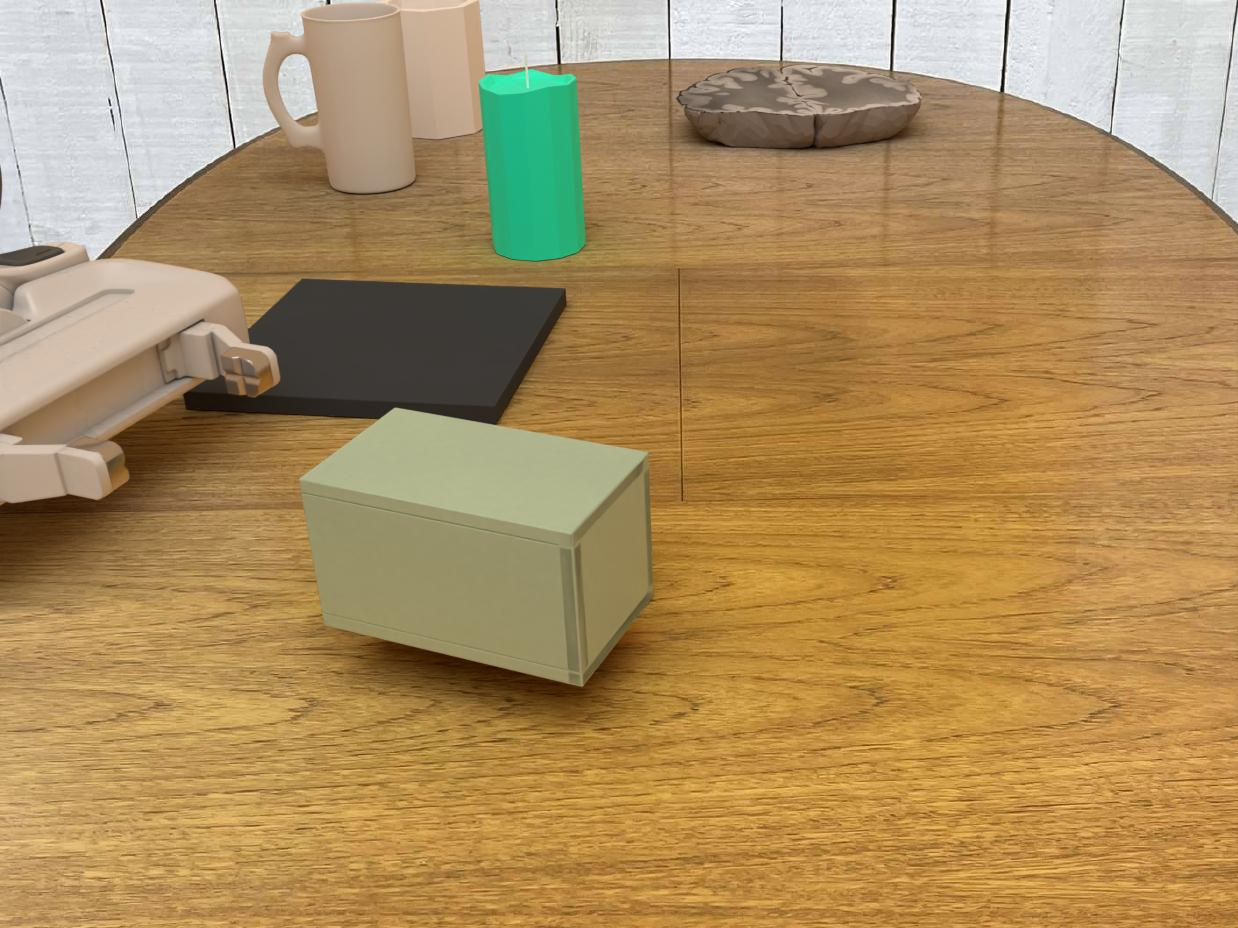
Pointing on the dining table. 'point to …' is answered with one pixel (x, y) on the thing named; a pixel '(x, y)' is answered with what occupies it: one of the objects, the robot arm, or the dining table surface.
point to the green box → (482, 542)
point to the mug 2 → (442, 65)
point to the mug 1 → (351, 94)
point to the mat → (395, 349)
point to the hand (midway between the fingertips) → (196, 419)
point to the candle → (533, 164)
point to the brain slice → (799, 106)
